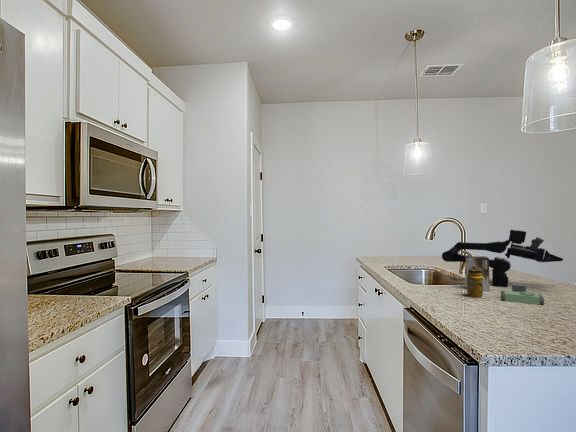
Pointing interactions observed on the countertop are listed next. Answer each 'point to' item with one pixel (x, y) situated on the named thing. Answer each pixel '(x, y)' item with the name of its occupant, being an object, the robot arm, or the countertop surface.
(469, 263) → the coffee box
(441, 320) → the countertop surface
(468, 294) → the condiment
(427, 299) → the countertop surface
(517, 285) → the stepped grey block
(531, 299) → the green toy cart
